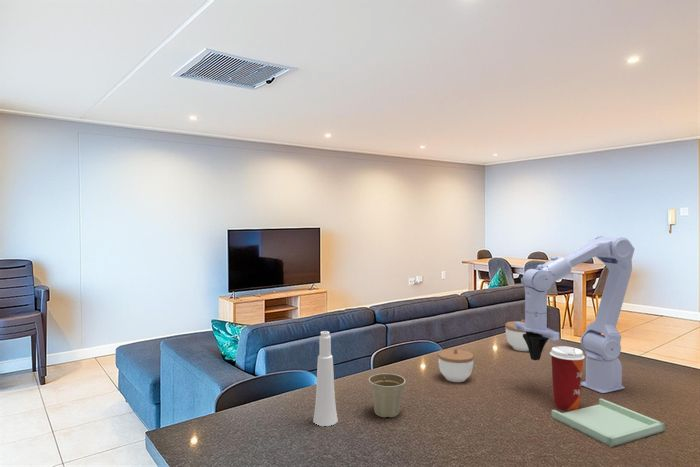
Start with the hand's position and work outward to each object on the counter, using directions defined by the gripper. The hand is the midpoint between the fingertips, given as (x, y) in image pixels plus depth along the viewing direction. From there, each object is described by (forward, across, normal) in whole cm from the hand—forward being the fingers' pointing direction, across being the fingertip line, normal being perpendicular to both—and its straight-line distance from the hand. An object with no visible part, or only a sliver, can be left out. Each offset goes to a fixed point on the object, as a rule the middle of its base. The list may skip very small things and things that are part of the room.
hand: (535, 359), depth 128 cm
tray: (+9, +22, 0) cm, 24 cm away
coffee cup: (+10, +11, 0) cm, 14 cm away
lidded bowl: (+10, -34, +29) cm, 46 cm away
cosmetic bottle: (+10, -7, -61) cm, 62 cm away
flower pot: (+10, -5, -45) cm, 46 cm away
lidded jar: (+10, -18, -14) cm, 25 cm away
